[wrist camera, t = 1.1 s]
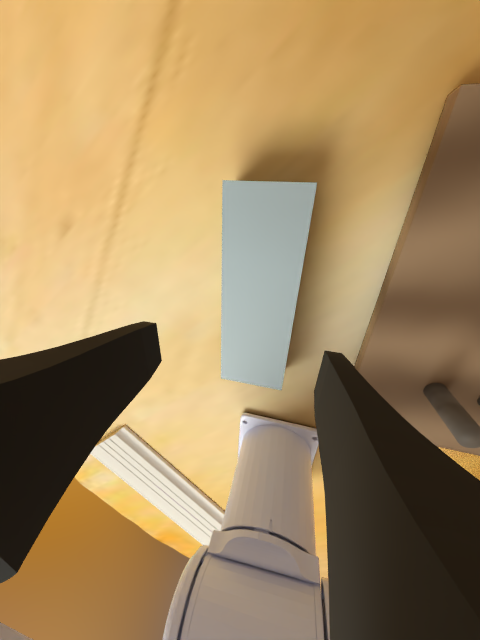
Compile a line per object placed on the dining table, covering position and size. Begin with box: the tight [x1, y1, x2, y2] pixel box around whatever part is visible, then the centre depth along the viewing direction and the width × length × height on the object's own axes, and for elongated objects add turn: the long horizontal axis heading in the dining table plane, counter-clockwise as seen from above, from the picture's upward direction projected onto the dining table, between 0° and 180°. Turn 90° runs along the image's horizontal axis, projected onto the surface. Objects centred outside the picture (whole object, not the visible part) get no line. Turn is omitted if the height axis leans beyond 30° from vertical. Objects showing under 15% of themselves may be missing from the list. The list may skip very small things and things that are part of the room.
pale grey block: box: [221, 180, 317, 390], centre depth 16 cm, size 14×5×3 cm, turn 178°
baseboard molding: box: [90, 425, 225, 546], centre depth 33 cm, size 31×3×12 cm
